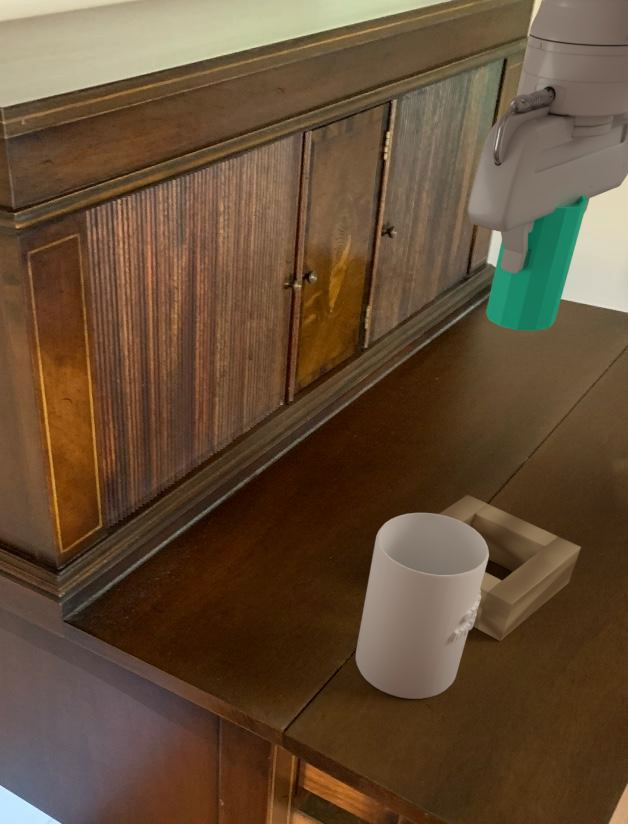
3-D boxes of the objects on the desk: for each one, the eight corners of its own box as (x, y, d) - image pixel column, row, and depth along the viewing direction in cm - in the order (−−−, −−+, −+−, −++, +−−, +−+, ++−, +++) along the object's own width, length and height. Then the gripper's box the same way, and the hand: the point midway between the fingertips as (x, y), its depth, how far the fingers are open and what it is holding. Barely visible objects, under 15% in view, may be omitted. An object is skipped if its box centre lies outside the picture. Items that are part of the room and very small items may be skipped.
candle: (535, 302, 86) (570, 164, 78) (566, 328, 81) (607, 184, 73) (475, 306, 85) (504, 167, 77) (502, 333, 80) (536, 188, 73)
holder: (568, 583, 82) (581, 546, 79) (500, 641, 76) (511, 604, 73) (459, 529, 88) (467, 494, 86) (387, 579, 82) (394, 543, 80)
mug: (465, 613, 79) (497, 495, 71) (456, 710, 70) (491, 586, 62) (368, 595, 80) (389, 478, 73) (348, 687, 72) (369, 564, 64)
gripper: (546, 106, 64) (501, 301, 72) (677, 69, 74) (624, 243, 83) (468, 92, 67) (434, 280, 76) (604, 59, 78) (560, 226, 87)
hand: (534, 260), depth 80 cm, fingers closed on candle, 5 cm apart
